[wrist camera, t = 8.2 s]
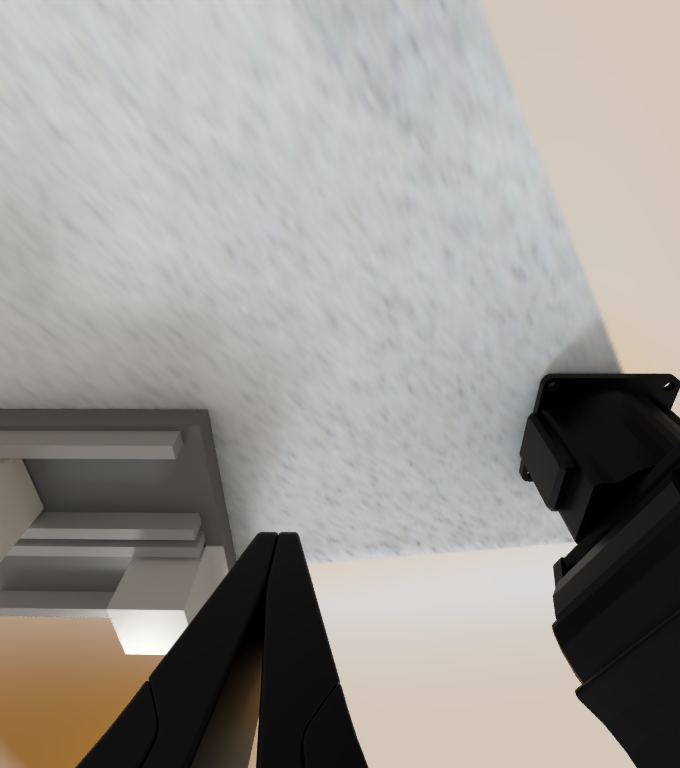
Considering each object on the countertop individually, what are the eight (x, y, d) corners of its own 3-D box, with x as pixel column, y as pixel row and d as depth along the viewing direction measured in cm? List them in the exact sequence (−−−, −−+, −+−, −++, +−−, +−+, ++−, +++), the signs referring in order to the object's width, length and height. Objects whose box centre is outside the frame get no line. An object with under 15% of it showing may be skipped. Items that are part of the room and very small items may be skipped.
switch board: (207, 409, 23) (192, 440, 21) (240, 583, 30) (230, 621, 28) (-92, 409, 24) (-140, 439, 22) (7, 581, 31) (-21, 618, 28)
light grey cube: (205, 546, 26) (183, 610, 23) (216, 590, 28) (197, 655, 25) (138, 545, 26) (106, 609, 23) (153, 589, 28) (125, 654, 25)
